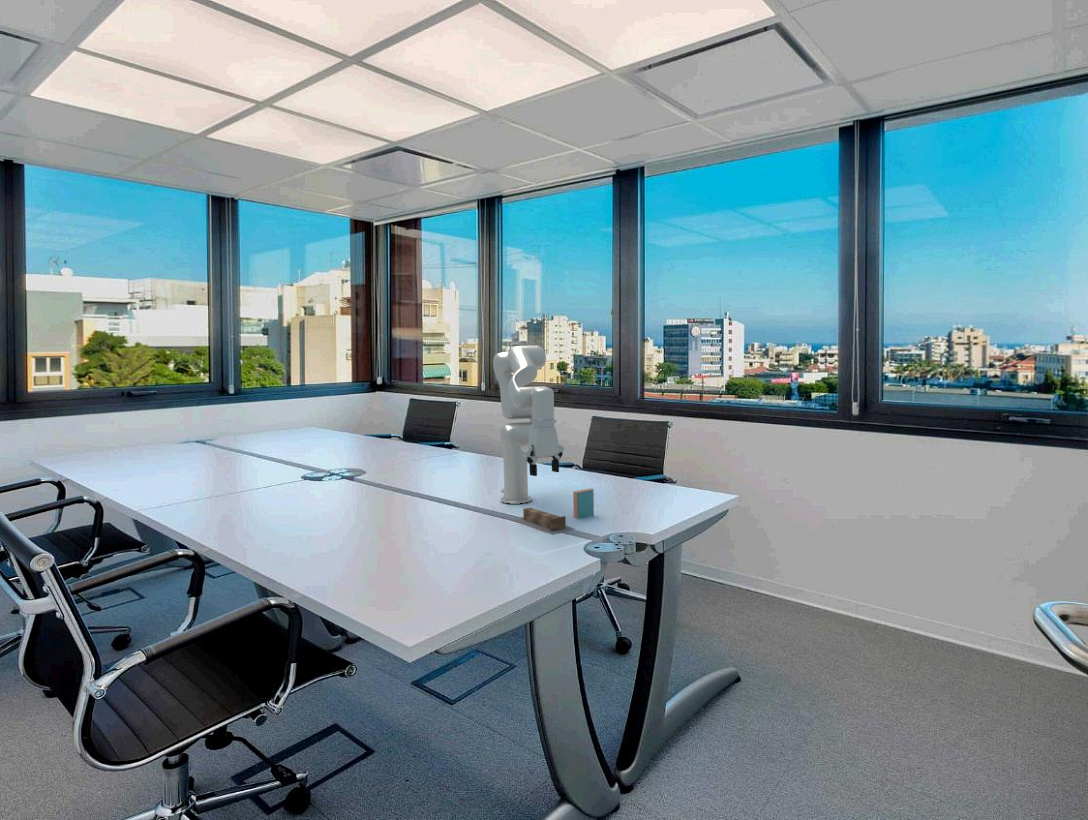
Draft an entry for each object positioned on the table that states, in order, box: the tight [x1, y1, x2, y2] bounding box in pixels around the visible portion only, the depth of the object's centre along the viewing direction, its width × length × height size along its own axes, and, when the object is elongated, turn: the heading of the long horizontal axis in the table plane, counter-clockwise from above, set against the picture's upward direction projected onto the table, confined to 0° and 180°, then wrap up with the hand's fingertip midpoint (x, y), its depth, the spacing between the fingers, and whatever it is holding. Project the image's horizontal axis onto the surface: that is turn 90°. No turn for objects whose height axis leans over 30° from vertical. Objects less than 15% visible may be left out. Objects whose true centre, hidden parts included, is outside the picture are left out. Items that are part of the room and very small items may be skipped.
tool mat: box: [511, 517, 576, 535], centre depth 224 cm, size 24×10×1 cm, turn 38°
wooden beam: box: [522, 507, 567, 531], centre depth 224 cm, size 18×6×4 cm, turn 37°
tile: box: [572, 488, 595, 519], centre depth 233 cm, size 2×8×10 cm, turn 128°
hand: (544, 473), depth 224 cm, fingers open, 9 cm apart
